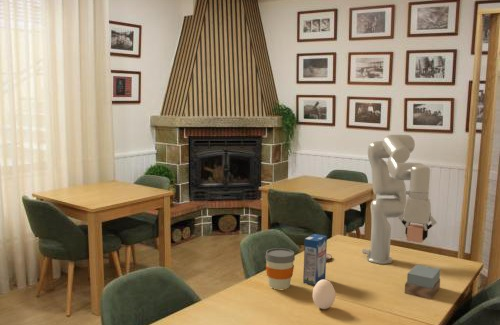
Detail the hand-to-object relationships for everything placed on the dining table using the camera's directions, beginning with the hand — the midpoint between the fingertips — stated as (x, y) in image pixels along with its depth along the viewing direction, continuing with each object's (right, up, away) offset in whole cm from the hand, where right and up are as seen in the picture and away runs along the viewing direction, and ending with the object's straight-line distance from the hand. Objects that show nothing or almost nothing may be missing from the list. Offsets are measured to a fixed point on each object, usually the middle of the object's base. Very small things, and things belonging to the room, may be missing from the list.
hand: (416, 237), depth 204 cm
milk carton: (-41, -22, +12) cm, 48 cm away
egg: (-41, -25, -16) cm, 51 cm away
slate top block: (+4, -19, +3) cm, 20 cm away
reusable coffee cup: (-57, -22, +6) cm, 61 cm away
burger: (-34, -18, +43) cm, 58 cm away
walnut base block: (+4, -24, +4) cm, 24 cm away
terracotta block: (0, -1, 0) cm, 1 cm away
